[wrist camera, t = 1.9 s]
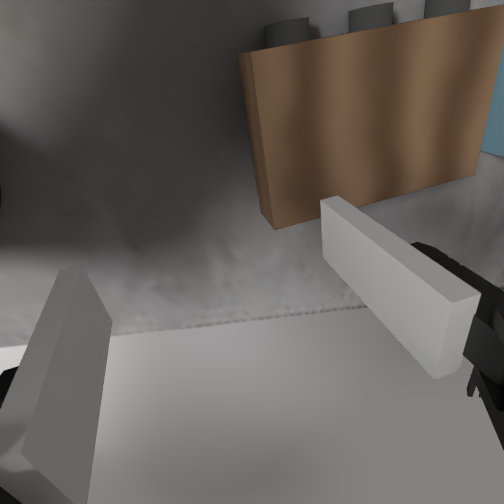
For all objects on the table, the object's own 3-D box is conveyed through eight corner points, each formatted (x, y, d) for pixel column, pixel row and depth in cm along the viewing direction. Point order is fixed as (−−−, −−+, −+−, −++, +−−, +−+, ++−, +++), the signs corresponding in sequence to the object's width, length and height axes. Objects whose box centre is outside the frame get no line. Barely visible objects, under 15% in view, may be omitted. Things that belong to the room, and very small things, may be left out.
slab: (260, 212, 31) (274, 230, 27) (236, 54, 24) (250, 52, 20) (442, 163, 34) (474, 174, 30) (466, 10, 27) (512, 3, 23)
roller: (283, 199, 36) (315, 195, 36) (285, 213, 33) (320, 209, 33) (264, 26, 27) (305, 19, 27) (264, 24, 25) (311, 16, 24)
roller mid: (341, 186, 37) (369, 178, 37) (359, 196, 34) (388, 188, 34) (340, 13, 28) (376, 7, 29) (364, 7, 25) (403, 0, 26)
